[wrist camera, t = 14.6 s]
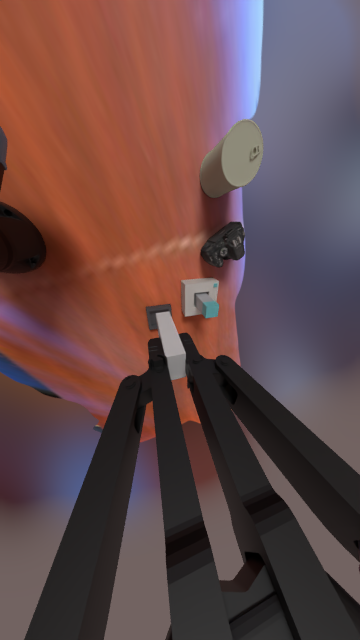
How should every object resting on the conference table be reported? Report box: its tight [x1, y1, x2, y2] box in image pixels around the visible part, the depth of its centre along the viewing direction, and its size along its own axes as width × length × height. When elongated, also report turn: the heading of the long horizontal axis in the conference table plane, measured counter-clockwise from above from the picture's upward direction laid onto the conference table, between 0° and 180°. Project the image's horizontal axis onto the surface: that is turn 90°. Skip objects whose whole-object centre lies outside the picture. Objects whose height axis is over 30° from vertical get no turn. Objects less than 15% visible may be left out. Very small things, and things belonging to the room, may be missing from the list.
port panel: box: [181, 277, 219, 317], centre depth 52 cm, size 12×12×5 cm
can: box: [200, 119, 263, 198], centre depth 32 cm, size 9×9×12 cm
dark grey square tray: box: [146, 304, 172, 330], centre depth 54 cm, size 9×9×2 cm
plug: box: [194, 292, 219, 318], centre depth 48 cm, size 4×4×13 cm
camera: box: [201, 222, 245, 267], centre depth 42 cm, size 13×10×10 cm
